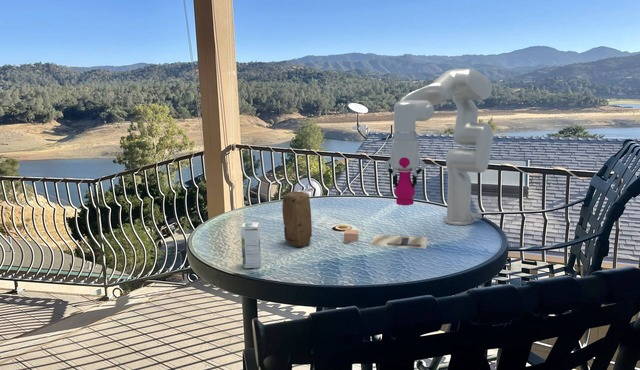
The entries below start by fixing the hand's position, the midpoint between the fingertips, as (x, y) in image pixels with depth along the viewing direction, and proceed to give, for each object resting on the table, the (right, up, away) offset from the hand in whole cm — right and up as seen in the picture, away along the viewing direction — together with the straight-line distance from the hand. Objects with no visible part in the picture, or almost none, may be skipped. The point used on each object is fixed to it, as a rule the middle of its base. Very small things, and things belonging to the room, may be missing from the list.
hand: (404, 185), depth 171 cm
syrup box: (-54, -27, -13) cm, 62 cm away
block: (-40, -22, +8) cm, 46 cm away
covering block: (-19, -21, +9) cm, 30 cm away
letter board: (-1, -22, +5) cm, 22 cm away
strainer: (-39, -17, +38) cm, 57 cm away
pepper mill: (0, -7, +1) cm, 7 cm away
